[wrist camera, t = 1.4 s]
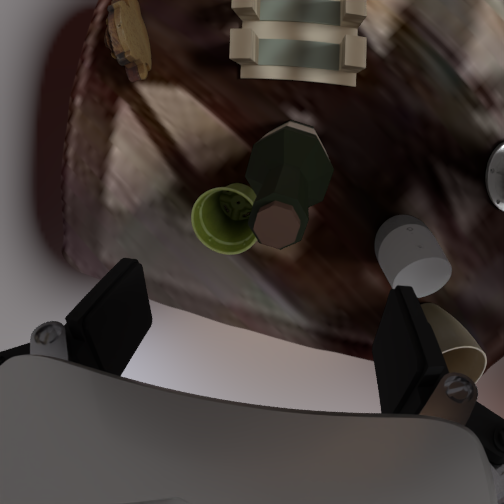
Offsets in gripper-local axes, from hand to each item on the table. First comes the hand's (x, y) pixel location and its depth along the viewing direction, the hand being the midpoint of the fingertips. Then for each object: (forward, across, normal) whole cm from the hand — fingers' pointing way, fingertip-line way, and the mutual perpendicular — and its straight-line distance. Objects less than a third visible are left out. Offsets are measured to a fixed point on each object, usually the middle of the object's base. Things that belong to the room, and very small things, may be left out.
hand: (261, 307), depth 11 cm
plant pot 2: (+36, -28, +28) cm, 54 cm away
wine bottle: (+36, 0, 0) cm, 37 cm away
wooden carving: (+36, +24, -19) cm, 47 cm away
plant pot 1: (+36, +8, +8) cm, 38 cm away
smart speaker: (+36, -18, +12) cm, 42 cm away
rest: (+36, 0, -20) cm, 42 cm away
